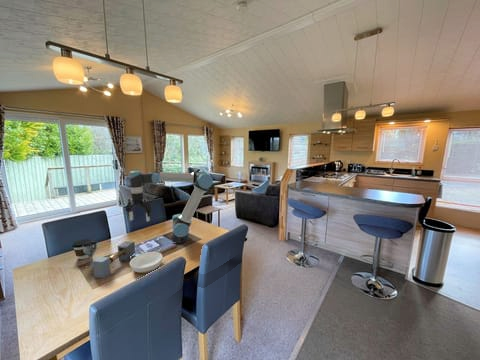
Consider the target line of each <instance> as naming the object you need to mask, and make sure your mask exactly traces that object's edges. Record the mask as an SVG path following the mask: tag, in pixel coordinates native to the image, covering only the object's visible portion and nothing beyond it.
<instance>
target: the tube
mask: <svg viewBox="0 0 480 360" xmlns="http://www.w3.org/2000/svg"><path fill="white" fill-rule="evenodd" d="M124 254H125V248H123V249H122V250H120V251H119V252H118V251H117V252H116V253H114V254H112V255H111V256H109V257H108V256H107V258H109V262H110V265H111V264H112V263H114V261H115V262H116V260H117V259H118V260H119V257H121V256H122V255H124Z"/></svg>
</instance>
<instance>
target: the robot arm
mask: <svg viewBox="0 0 480 360" xmlns="http://www.w3.org/2000/svg"><path fill="white" fill-rule="evenodd" d="M160 182H171V183H172V182H175V183H177V182H178V183H179V182H180V183H192V184H193V187H194V189H193V191H192V193H191V195H190V197H189V199H188V200H187V202H186V204H185V207H184V208H183V210H182V212H181V213H177V214H174V215H172V236H171V240H172V241H173V242H176V243H182V244H185V243H184V242H186V241H188V240H189V241H190V234H189V231H190V227H191V225H192V218H193V216H194V214H195V212H196V211H197V208H198V206H199V204H200V202H201V200H202V199H203V196H204V194H205V193H207V192H208V190H209V189H210V188H211V187H212V185H213V183H214V179H213V177H212V175H211V174H210V173H208V172H205V171H195V172H194V171H192V172H175V171H174V172H172V171H171V172H168V171H153V170H152V171H149V172H148V173H142V172H141V171H140V170H131V171H130V172H129V183H130V193H131V194H130V195H131V196H130V198H128V199H127V200H128V202H127V205H126V208H125V212H127V213H128V216H129V222H130V221H131V222H132V221H133V220H134V212H133V209H134V208H135V206H140V207H142V209H143V210H144V211H145V212H146V213H145V218H146V222H149V221H151V219H150V217H151V212H153V209H152V207H151V205H150V203H149V200H148V198H144V189H143V185H145V184H146V185H148V184H150V185H151V184H159V183H160ZM189 241H188V242H189ZM186 243H187V242H186Z"/></svg>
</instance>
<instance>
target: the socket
mask: <svg viewBox="0 0 480 360" xmlns="http://www.w3.org/2000/svg"><path fill="white" fill-rule="evenodd" d="M92 268H93V277H94V278H99V279H105V278H107V277H108V276H109V275H111V264H110V262H109V258H108V256H107V257H106V256H98V257H97V258H95V259H93V267H92Z"/></svg>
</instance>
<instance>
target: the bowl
mask: <svg viewBox="0 0 480 360" xmlns="http://www.w3.org/2000/svg"><path fill="white" fill-rule="evenodd" d="M162 262H163V255H162V253H160V252H158V251H147V252H142V253H140V254H138V255H135V256H134V257H133V258H131V259H130V260H129V267H130V269H131V270H132V271H133V272H136V273H138V274H146V273H150V272H152V271H154V270H156V269H157V268H158V267H160V265H161V264H162Z"/></svg>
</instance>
